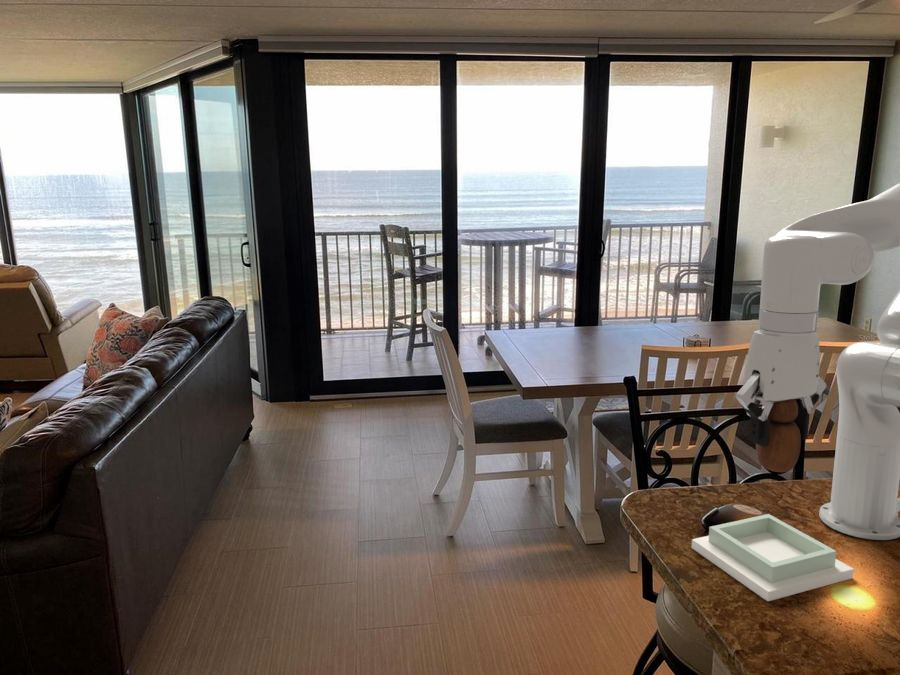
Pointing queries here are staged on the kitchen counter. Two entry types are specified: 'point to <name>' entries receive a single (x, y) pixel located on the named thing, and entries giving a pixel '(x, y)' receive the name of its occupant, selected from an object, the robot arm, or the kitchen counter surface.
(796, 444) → the wooden figurine
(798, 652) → the kitchen counter surface
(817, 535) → the kitchen counter surface
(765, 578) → the ceramic stand
